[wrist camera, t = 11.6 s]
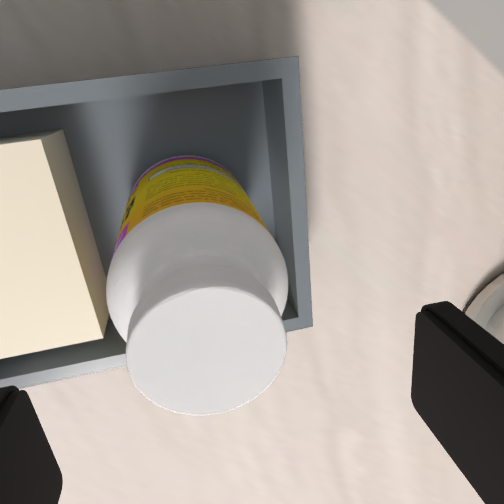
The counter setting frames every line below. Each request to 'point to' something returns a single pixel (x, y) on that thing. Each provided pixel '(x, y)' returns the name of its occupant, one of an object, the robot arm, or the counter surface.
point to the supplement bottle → (197, 289)
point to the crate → (165, 146)
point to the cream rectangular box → (46, 250)
